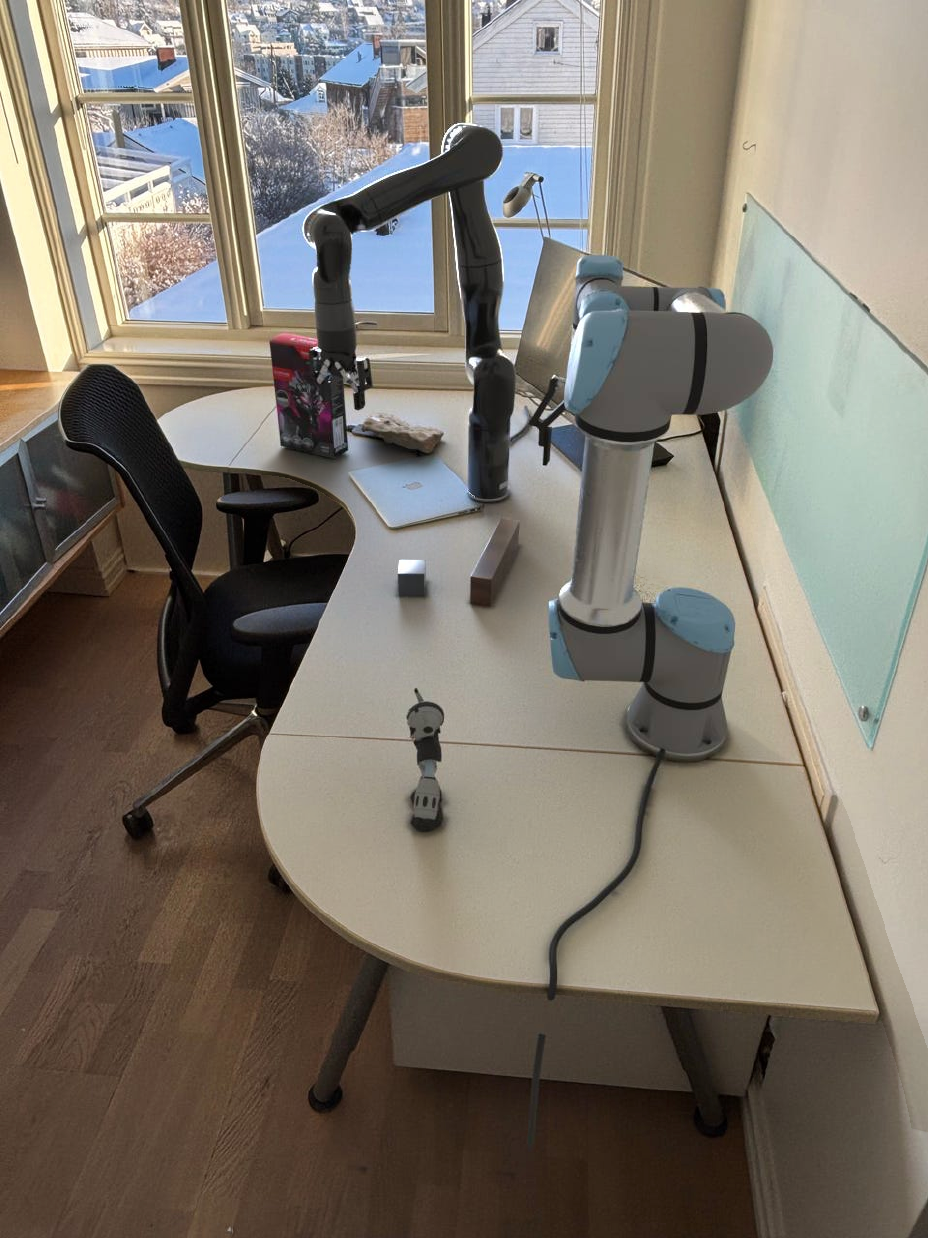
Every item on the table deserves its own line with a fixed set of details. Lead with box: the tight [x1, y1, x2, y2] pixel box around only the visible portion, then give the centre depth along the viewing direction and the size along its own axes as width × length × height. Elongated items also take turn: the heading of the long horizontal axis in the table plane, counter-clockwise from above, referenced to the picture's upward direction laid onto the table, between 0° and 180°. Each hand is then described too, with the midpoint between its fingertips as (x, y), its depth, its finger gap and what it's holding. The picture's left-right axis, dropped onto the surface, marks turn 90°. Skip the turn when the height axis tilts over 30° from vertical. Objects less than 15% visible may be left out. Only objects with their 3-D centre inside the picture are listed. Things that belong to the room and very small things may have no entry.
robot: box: [405, 687, 445, 833], centre depth 123 cm, size 20×5×20 cm, turn 3°
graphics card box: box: [268, 332, 349, 459], centre depth 224 cm, size 17×7×27 cm, turn 62°
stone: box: [360, 412, 444, 454], centre depth 233 cm, size 21×15×6 cm
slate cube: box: [397, 559, 427, 597], centre depth 176 cm, size 5×5×5 cm
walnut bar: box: [469, 517, 521, 608], centre depth 180 cm, size 24×4×6 cm, turn 165°
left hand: (343, 404), depth 185 cm, fingers open, 8 cm apart
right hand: (582, 467), depth 169 cm, fingers open, 13 cm apart
